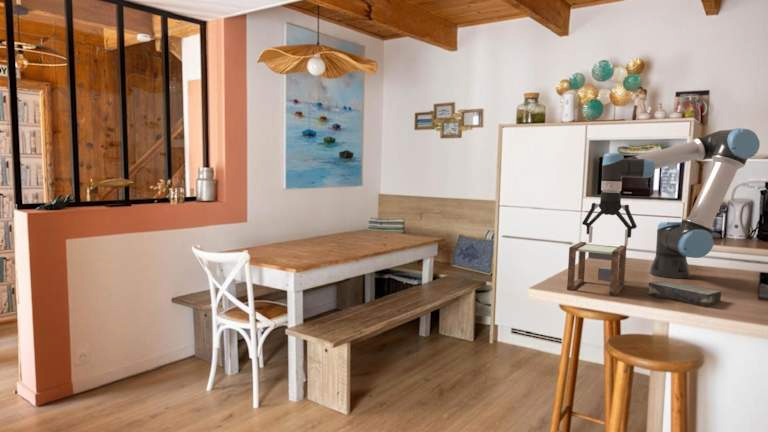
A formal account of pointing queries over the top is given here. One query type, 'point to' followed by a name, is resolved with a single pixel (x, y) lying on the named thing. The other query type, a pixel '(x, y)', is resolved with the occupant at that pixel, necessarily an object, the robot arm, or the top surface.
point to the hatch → (598, 251)
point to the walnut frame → (617, 256)
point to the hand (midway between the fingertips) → (607, 244)
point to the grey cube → (604, 273)
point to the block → (684, 293)
